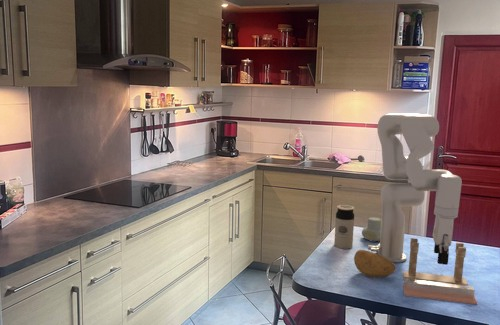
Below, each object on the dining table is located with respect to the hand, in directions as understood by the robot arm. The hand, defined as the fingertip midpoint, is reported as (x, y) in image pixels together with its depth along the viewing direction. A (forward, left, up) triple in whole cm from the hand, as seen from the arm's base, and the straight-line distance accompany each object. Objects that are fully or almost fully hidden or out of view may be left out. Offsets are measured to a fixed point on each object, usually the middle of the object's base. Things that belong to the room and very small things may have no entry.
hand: (440, 258), depth 165 cm
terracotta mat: (0, -1, -13) cm, 13 cm away
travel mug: (-35, +39, -13) cm, 54 cm away
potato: (-22, +8, -13) cm, 27 cm away
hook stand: (0, +11, -13) cm, 17 cm away
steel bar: (0, -1, -12) cm, 12 cm away
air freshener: (-22, +53, -13) cm, 59 cm away
